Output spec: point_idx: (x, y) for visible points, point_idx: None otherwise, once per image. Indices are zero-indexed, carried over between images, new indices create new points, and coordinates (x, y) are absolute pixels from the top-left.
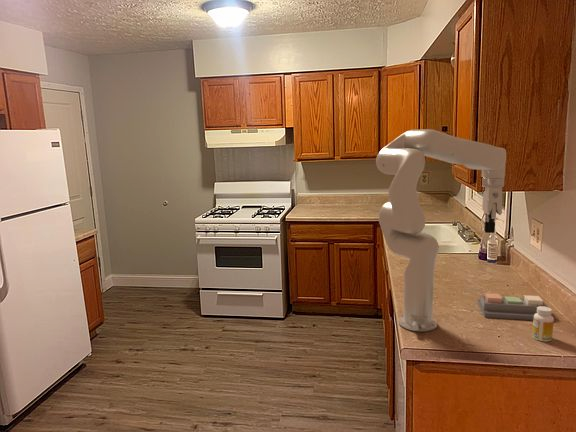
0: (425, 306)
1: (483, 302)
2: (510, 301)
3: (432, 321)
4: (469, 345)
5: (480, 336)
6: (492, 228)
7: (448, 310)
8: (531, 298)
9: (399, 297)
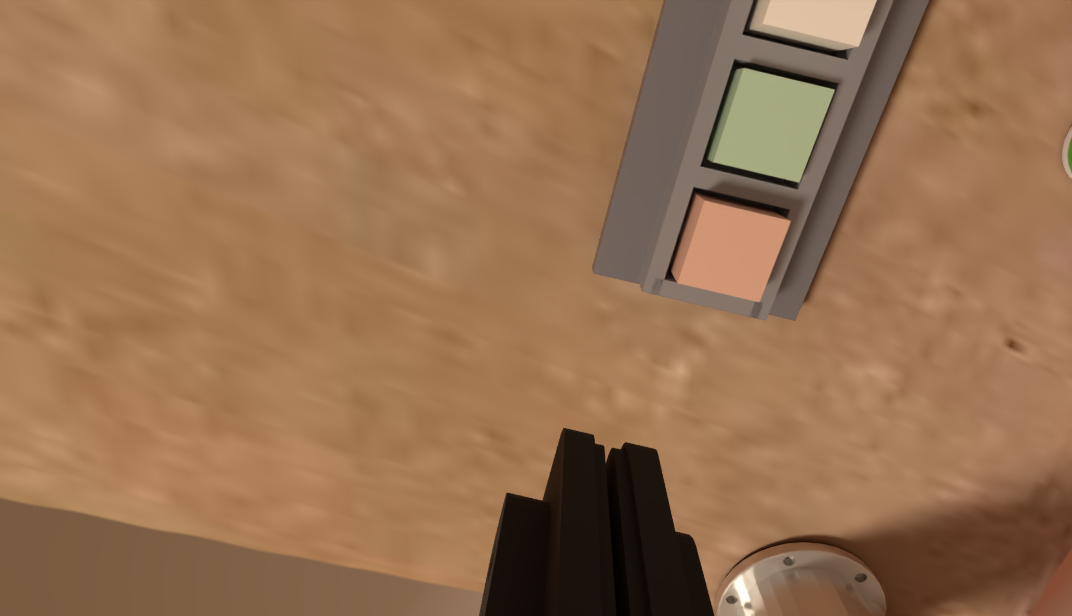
0: None
1: (739, 313)
2: (804, 166)
3: (824, 568)
4: (1048, 494)
5: (985, 420)
6: (699, 575)
7: (671, 442)
8: (835, 3)
9: None
